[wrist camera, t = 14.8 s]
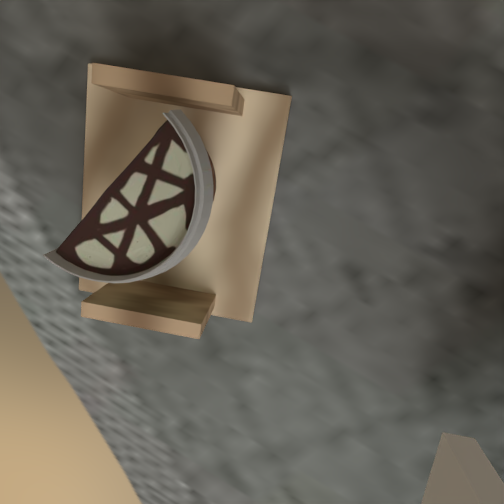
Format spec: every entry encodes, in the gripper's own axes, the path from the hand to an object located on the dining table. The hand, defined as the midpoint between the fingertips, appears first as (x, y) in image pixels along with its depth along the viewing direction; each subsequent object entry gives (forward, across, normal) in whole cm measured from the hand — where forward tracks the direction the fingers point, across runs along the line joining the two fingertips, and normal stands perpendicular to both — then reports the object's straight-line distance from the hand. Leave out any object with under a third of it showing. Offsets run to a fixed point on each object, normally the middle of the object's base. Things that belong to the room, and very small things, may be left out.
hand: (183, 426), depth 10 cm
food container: (+22, +7, -3) cm, 23 cm away
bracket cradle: (+23, +8, -3) cm, 24 cm away
